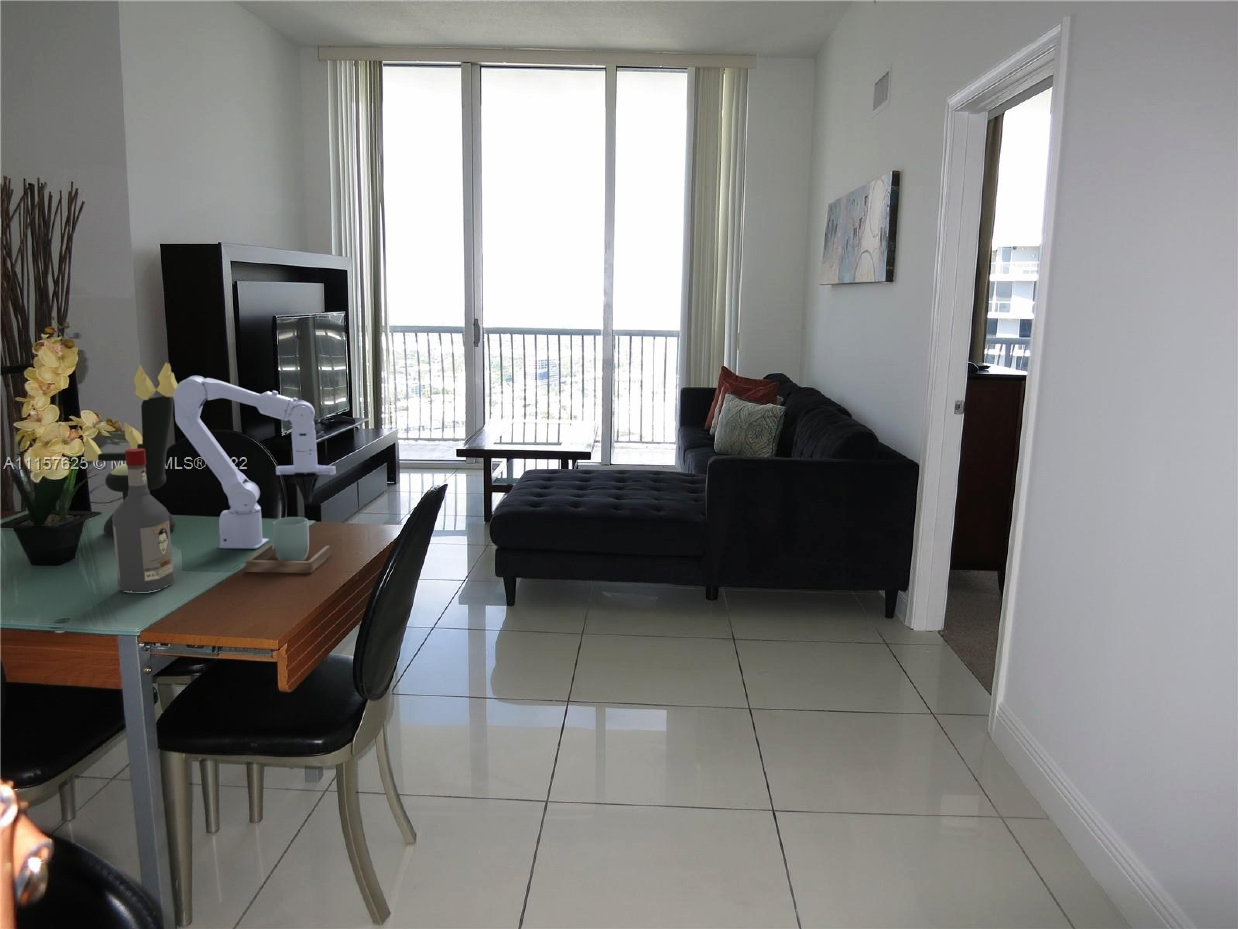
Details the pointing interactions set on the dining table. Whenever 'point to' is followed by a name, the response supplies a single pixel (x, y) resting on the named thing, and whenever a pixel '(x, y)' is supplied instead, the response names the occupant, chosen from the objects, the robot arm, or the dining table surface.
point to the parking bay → (284, 562)
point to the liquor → (141, 533)
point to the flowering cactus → (143, 437)
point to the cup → (291, 538)
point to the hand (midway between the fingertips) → (308, 502)
